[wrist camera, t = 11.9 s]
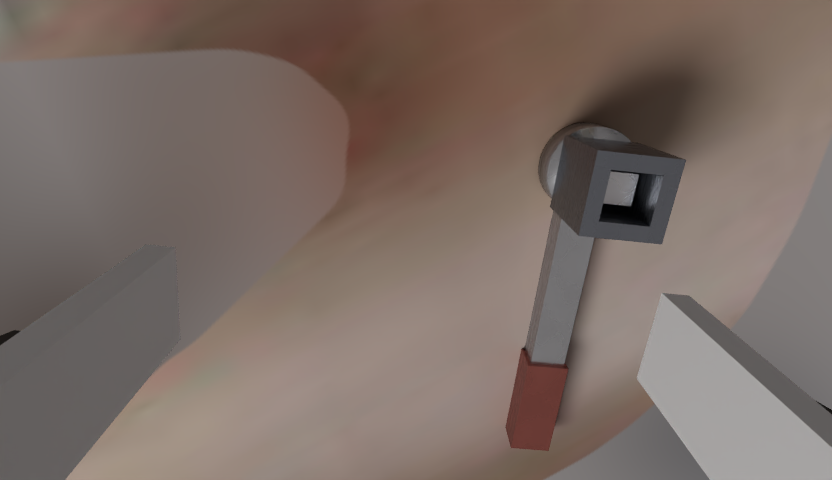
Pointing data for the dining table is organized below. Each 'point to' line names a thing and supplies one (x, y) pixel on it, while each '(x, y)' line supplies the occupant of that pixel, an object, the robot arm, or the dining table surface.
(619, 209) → the socket
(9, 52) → the dining table surface
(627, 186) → the ratchet
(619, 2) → the dining table surface
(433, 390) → the dining table surface
